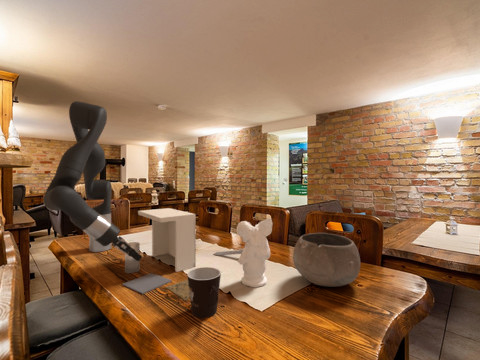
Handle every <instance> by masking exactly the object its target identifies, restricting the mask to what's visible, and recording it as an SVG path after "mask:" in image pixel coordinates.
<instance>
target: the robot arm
mask: <svg viewBox="0 0 480 360" xmlns="http://www.w3.org/2000/svg"><path fill="white" fill-rule="evenodd" d="M68 110H69V111H68V117H69V121H70V125H71V128H72V130H73V131H72V132H73V135H74V137H75V141H76V143H74V144H73V145H72V146H70V147H68V149H67V150H66V151H65V152H63V155H62V156H61V158H60V160H59V163H58V166H57V168H56V171H55V175H53V178H52V180H51V181H50V184H49V185H48V187H47V189H46V190H45V194H44V196H43V205H44V206H45V207H46V208H47V209H48V210H51V211H55V212H56V211H61V212H63V213H64V214H66V215H67V216H68V217H69V220H70V222H71V223H72V224H73V225H74V226H76V227H78V228H79V229H80V230H81V231H83V232H84V234H86V235H87V236H88V239H89V240H88V241H89V243H88V244H89V245H88V247H89V248H88V250H89V252H92V253H98V252H104V251H109V250H111V249H112V246H113V248H114V249H116V250H119V251H120V252H121V253H123V254H125V253H127V254H128V256H131V257H133V258H134V259H135V260H137V261H139V260H140V261H141V259H142V257H143V256H142V255H141V254H138V253H137V252H136V251H135V249H133V248H131V245H130V244H128V243H129V242H127V241H126V240H125V238H123V237H121V235H120V232H121V230H120V228H119V227H118V226H116V225H115V224H114V223H113V222H112V189H113V188H112V183H111V181H110V180H95V178H96V177H97V176H99V174H100V173H101V172H102V171H103V170H104V168H105V167H106V153H105V151H104V149H103V147H102V146H101V145H100V143H99V142H98V141H99V139H100V137H101V135H102V133H103V131H104V129H105V126H106V124H107V121H108V120H107V119H108V114H107V109H106V108H105V107H104V106H100V105H98V104H93V103H92V104H91V103H87V102H84V101H78V100H77V101H72V103H70V105H69V109H68ZM82 175H83V176H82ZM82 177H83V183H84V191H85V196H86V199H87V200H91V201H95V200H96V201H99V200H101V201H102V203H100V204H98V205H95V206H93V207H91V206H90V205H88V203H87V202H86V200H84V198H83V197H82V196H81V195H80V193H78V192H77V191H76V190H74V189H75V186H76V185H77V184H78V182H80V181H81V178H82ZM130 249H131V251H130V252H129V253H128V251H129V250H130Z"/></svg>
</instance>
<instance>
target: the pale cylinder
mask: <svg viewBox="0 0 480 360" xmlns="http://www.w3.org/2000/svg"><path fill="white" fill-rule="evenodd" d="M127 243H128V244H130V245H131V248H133V249H135V251H136V252H137V253H138V254H140V253H141V251H140V250H141V249H140V242H138V241H137V242H136V241H131V242H127ZM130 251H131V249H130V250H129V251H128V253H129V252H130ZM140 255H141V254H140ZM140 261H141V259H140V260H139V261H137V260H135V259H134V258H133V257H131V256H128V254H127V253H124V273H126V274H134V273H137V272H139V271H140V264H141V263H140Z"/></svg>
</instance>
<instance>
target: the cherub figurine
mask: <svg viewBox="0 0 480 360" xmlns="http://www.w3.org/2000/svg"><path fill="white" fill-rule="evenodd" d="M273 226H274V225H273V220H272V219H271V217H270V216H269V217H267V218H266V219H264V220H261V221H259V222H258V224H257V223H256V224H255V226H253V225H252V224H251V222H249V221H247V220H244V221H243V220H242V221H240V222H238V224H237V226H236V234H237V235H238V236H239V237H240V238H241V240H242V242H243V243H245V245H244V247H243V248H242V249H243V251H242V253H241V254H240V256H239V258H238V260H237V263H239V265H242V270H243V276H242V277H241V280H240V281H241V283H242V284H243V285H244V286H245V287H246V286H247V287H250V288H260V287H262V286H265V285H266V284H267V282H268V278H267V277H266V275H265V271H266V270H267V269H266V268H267V263H266V261H267V260H268V259H270V257H271V250H270V245H269V241H268V239H267V237H268V236H269V235H271V234H272V231H273Z"/></svg>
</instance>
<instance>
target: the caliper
mask: <svg viewBox="0 0 480 360" xmlns="http://www.w3.org/2000/svg"><path fill="white" fill-rule="evenodd" d="M243 249H244V248H240V249H237V250H235V249H233V250H224V251H223V250H222V251H216V252H214V253H212V255H214V256H229V255H230V256H231V255H241V253H242V251H243Z"/></svg>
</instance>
